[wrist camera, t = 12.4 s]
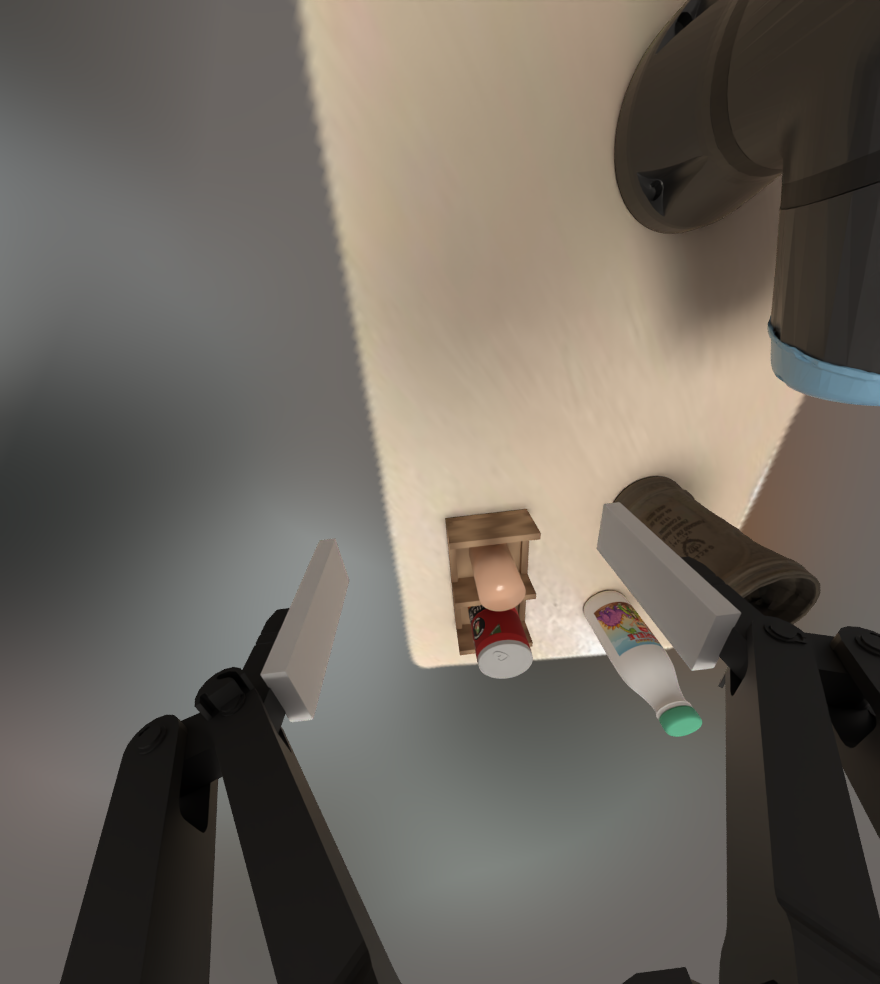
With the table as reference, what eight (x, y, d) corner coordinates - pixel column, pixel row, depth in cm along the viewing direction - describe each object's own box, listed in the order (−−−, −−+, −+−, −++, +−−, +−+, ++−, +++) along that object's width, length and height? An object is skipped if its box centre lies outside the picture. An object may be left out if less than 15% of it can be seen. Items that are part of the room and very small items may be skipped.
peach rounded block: (507, 531, 47) (526, 574, 39) (507, 562, 50) (524, 608, 42) (467, 536, 47) (478, 580, 39) (469, 567, 50) (479, 613, 42)
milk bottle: (616, 618, 60) (700, 742, 42) (577, 619, 59) (645, 745, 42) (630, 588, 56) (728, 710, 39) (588, 589, 56) (668, 713, 38)
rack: (526, 509, 47) (540, 533, 42) (521, 616, 58) (532, 646, 53) (445, 518, 47) (449, 543, 41) (455, 624, 58) (459, 655, 52)
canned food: (483, 577, 51) (499, 637, 42) (521, 594, 54) (545, 654, 44) (457, 607, 54) (466, 670, 44) (495, 622, 57) (511, 684, 47)
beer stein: (590, 520, 49) (698, 637, 31) (640, 461, 44) (797, 560, 27) (655, 549, 54) (778, 663, 37) (706, 499, 49) (872, 602, 32)
